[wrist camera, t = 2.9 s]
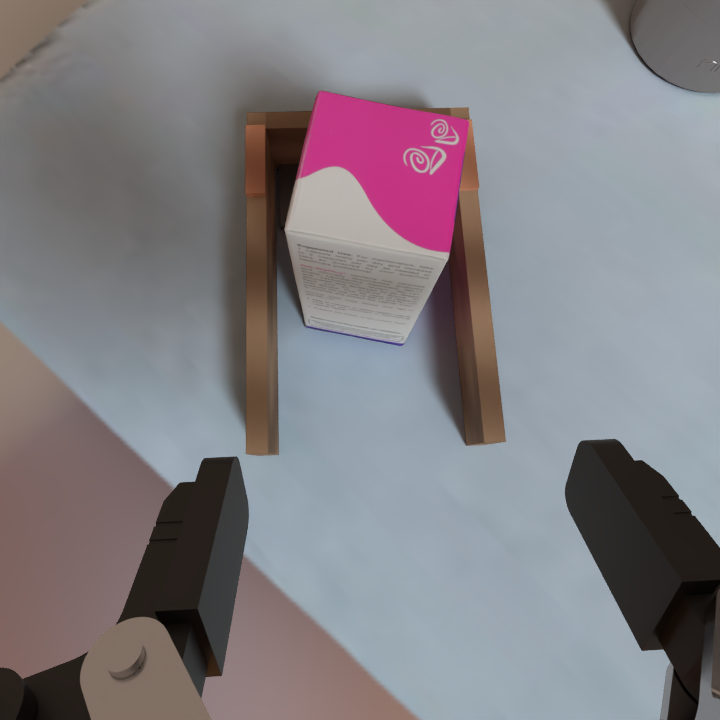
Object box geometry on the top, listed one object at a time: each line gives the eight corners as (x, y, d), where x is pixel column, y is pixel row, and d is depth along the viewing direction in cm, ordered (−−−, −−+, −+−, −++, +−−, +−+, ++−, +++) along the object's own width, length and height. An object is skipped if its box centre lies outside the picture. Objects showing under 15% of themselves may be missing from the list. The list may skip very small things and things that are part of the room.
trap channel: (258, 154, 29) (245, 108, 25) (454, 149, 30) (469, 103, 26) (259, 455, 25) (244, 454, 22) (484, 444, 26) (508, 441, 22)
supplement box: (407, 348, 27) (449, 264, 16) (303, 328, 27) (271, 231, 16) (423, 253, 28) (473, 113, 17) (324, 235, 28) (308, 83, 17)
